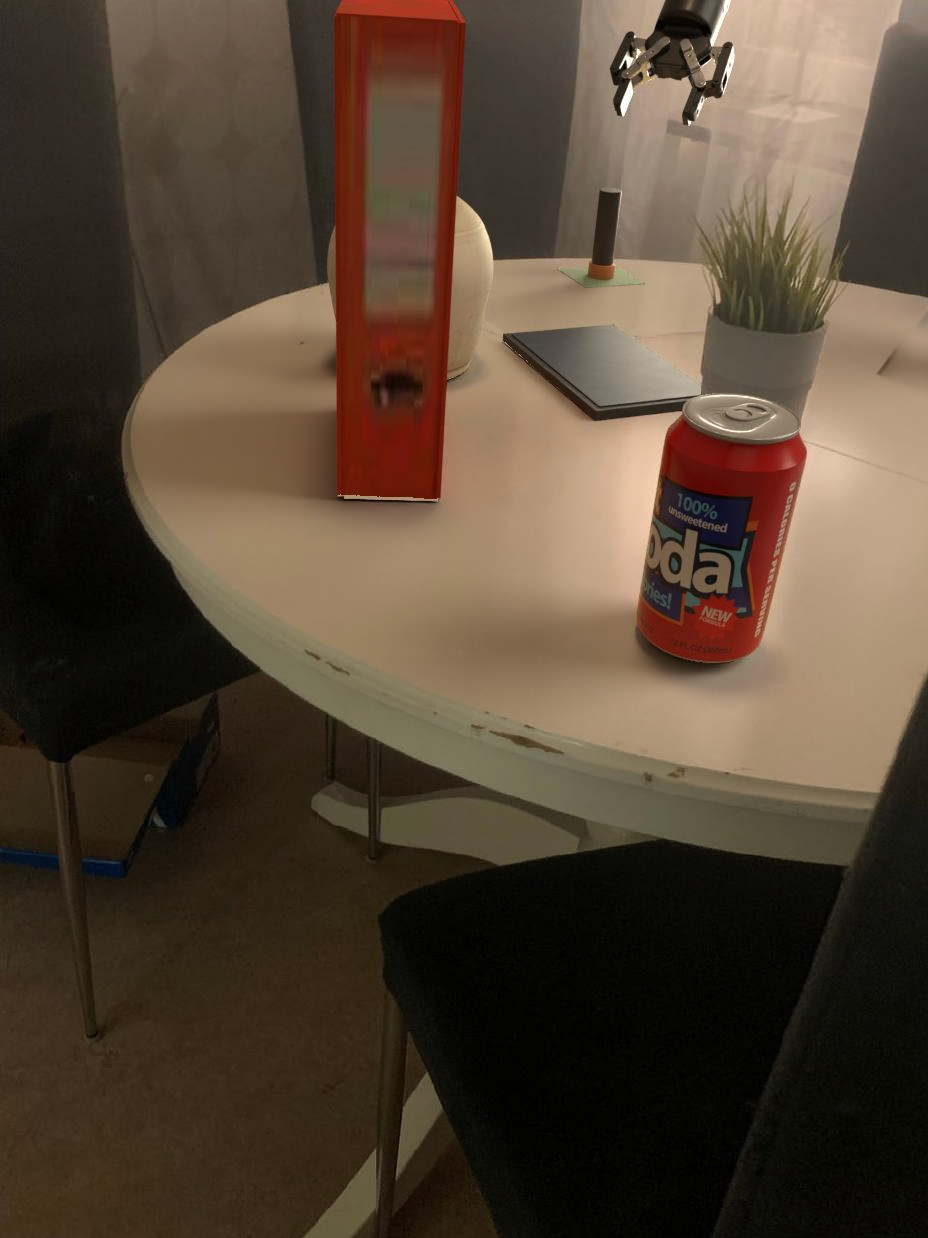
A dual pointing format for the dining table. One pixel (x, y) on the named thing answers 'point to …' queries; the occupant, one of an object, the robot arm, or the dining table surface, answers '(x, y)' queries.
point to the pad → (582, 278)
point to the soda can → (720, 526)
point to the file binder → (394, 238)
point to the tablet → (605, 370)
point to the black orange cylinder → (605, 234)
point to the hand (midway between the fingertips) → (651, 116)
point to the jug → (456, 285)
